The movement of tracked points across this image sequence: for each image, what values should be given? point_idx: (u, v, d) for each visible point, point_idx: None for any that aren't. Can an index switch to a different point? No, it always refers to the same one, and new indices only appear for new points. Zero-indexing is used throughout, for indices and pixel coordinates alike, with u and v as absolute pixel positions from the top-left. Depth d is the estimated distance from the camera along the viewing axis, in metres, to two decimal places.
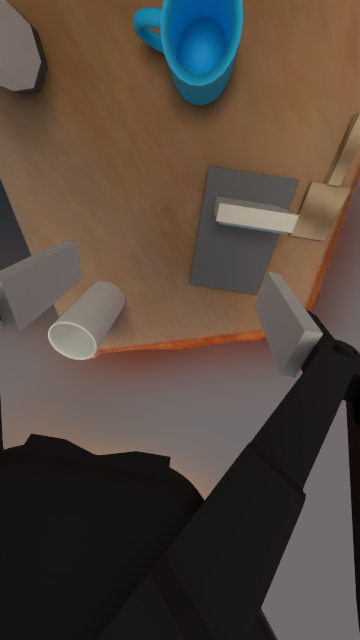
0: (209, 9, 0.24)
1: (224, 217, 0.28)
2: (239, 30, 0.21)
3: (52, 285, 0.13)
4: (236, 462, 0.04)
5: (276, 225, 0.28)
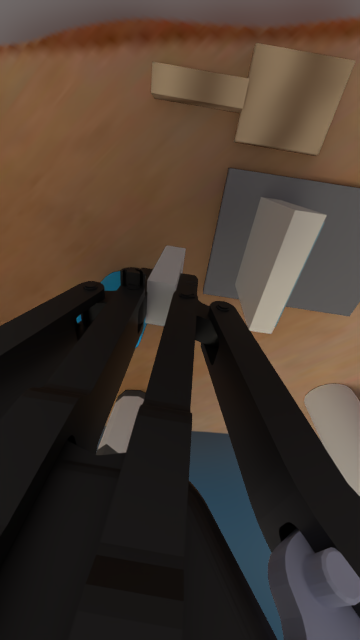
0: None
1: (269, 324, 0.19)
2: None
3: None
4: (134, 427, 0.04)
5: (302, 248, 0.15)
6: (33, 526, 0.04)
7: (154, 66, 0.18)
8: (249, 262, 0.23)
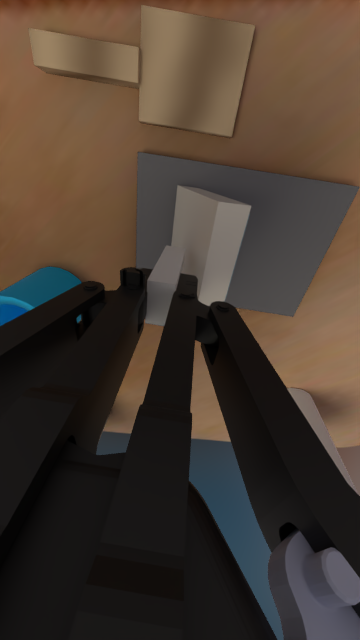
0: None
1: None
2: (7, 298, 0.21)
3: None
4: (135, 427, 0.04)
5: (232, 244, 0.14)
6: (33, 526, 0.04)
7: (31, 33, 0.16)
8: None
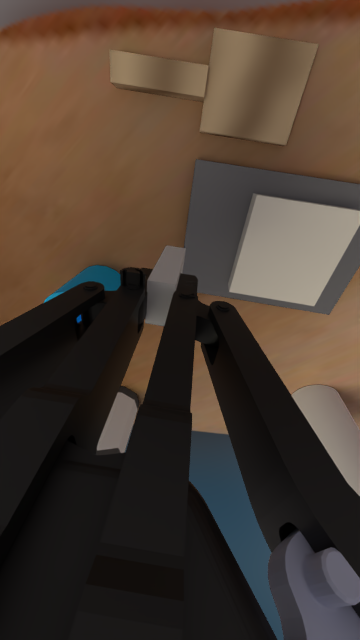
0: None
1: None
2: None
3: None
4: (134, 427, 0.04)
5: None
6: (33, 526, 0.04)
7: (111, 54, 0.17)
8: (270, 262, 0.23)
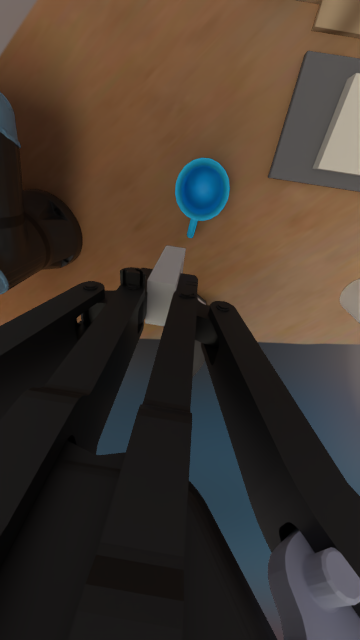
0: (184, 184, 0.37)
1: None
2: (206, 159, 0.30)
3: None
4: (134, 427, 0.04)
5: None
6: (33, 526, 0.04)
7: None
8: (355, 136, 0.31)
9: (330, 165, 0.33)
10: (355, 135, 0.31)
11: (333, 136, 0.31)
